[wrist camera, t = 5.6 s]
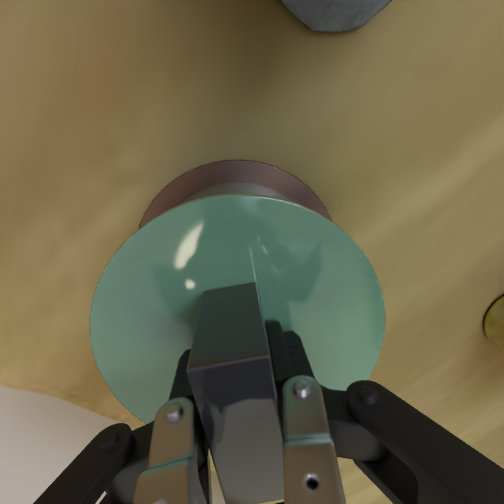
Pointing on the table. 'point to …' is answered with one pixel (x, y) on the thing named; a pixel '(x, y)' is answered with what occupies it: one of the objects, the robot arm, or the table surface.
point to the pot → (234, 319)
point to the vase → (495, 323)
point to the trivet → (233, 173)
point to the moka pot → (334, 13)
